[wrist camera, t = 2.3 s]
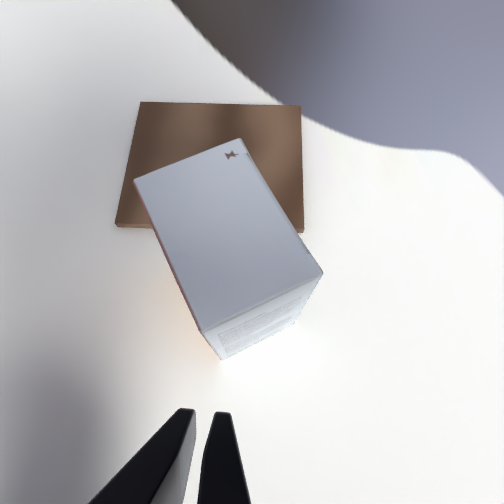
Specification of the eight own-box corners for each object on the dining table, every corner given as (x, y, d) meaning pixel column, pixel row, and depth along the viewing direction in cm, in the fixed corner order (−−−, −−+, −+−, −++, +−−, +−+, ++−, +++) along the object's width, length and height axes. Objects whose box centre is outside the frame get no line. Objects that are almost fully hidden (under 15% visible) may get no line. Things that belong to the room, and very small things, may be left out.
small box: (174, 261, 26) (127, 175, 16) (243, 230, 26) (239, 131, 17) (220, 364, 23) (197, 336, 13) (296, 325, 24) (326, 272, 14)
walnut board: (117, 226, 27) (114, 223, 26) (142, 107, 31) (140, 101, 31) (302, 232, 26) (304, 229, 26) (299, 111, 31) (300, 105, 31)
